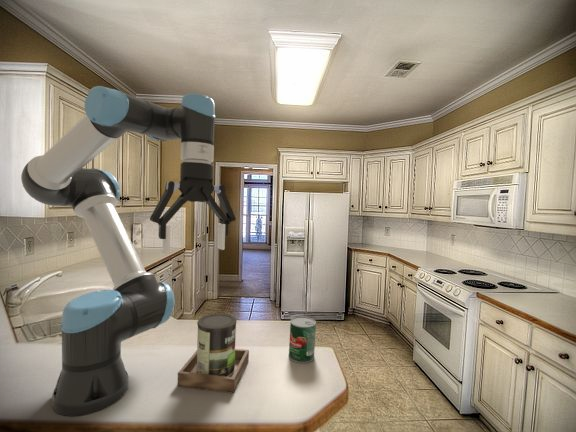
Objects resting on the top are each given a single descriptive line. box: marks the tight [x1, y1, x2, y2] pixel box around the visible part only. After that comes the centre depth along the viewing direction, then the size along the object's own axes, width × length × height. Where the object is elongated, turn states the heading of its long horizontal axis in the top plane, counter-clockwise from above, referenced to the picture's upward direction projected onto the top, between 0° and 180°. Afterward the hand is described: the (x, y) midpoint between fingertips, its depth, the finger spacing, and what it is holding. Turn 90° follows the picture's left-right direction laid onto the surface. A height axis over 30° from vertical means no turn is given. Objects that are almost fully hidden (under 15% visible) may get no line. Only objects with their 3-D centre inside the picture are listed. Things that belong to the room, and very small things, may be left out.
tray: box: [177, 348, 250, 394], centre depth 82 cm, size 15×15×4 cm
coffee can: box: [196, 313, 238, 377], centre depth 82 cm, size 10×10×14 cm
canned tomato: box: [288, 316, 317, 364], centre depth 92 cm, size 8×8×11 cm
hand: (195, 251), depth 73 cm, fingers open, 13 cm apart
